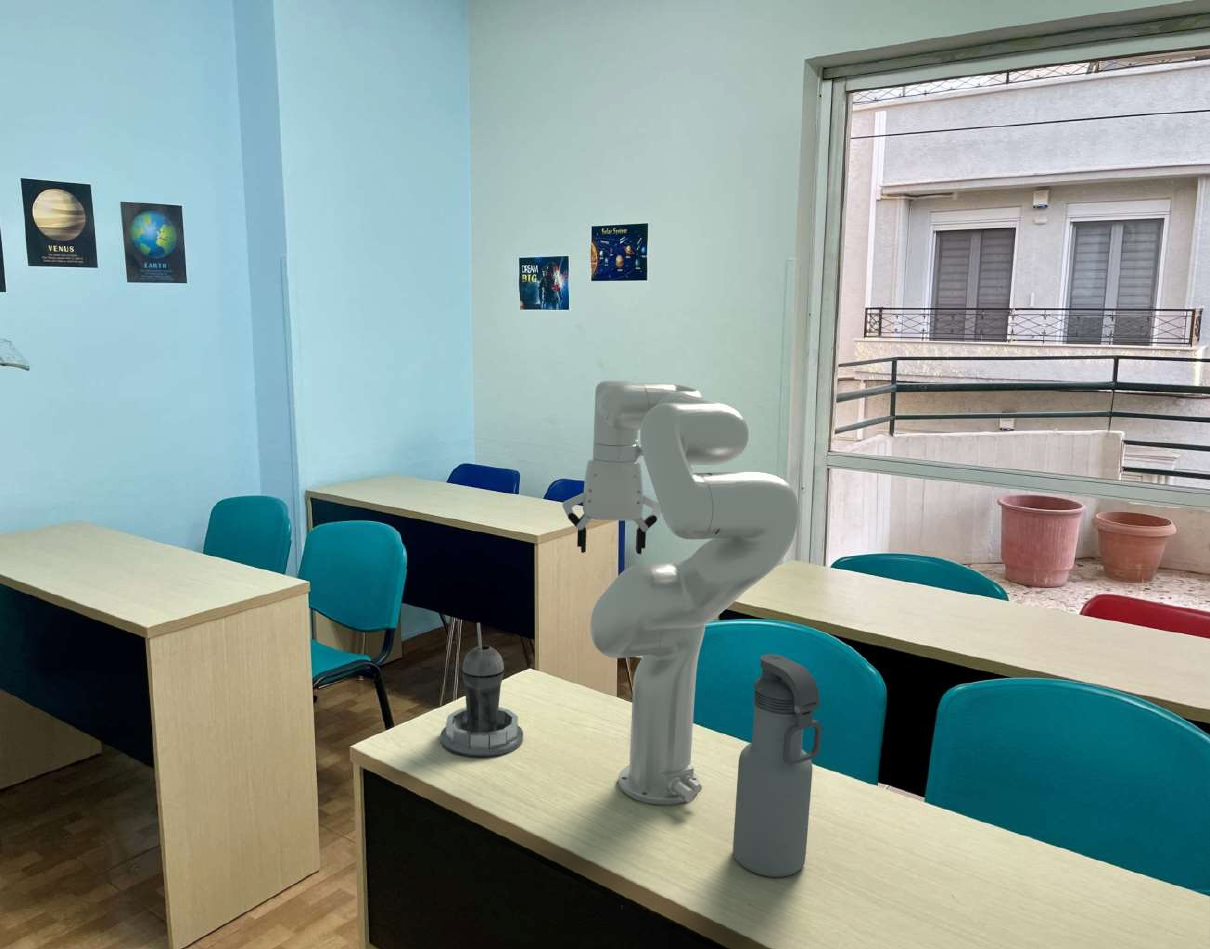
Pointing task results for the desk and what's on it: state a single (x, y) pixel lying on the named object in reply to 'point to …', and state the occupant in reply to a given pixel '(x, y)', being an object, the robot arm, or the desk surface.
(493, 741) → the base
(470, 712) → the beverage cup
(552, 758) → the desk surface
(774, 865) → the water bottle
